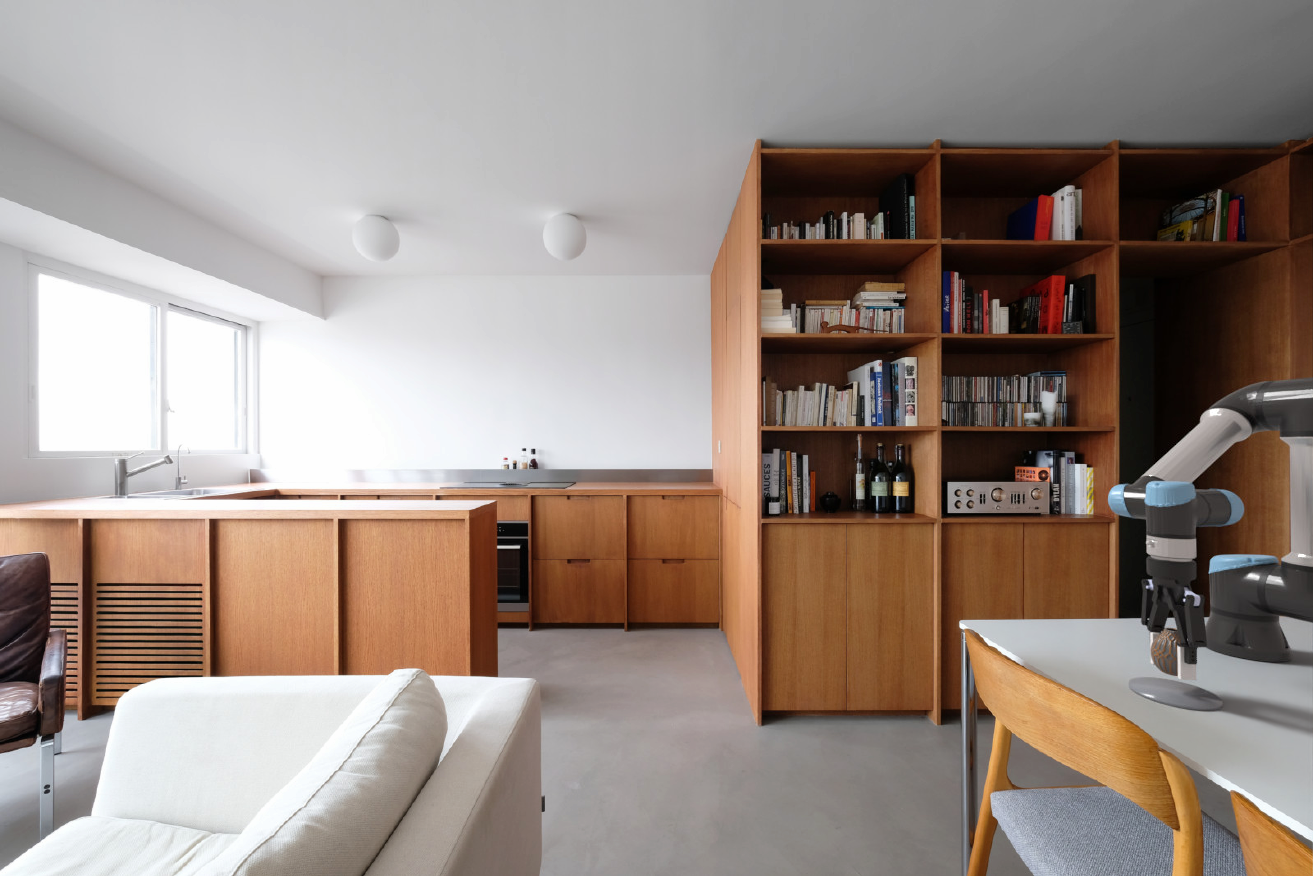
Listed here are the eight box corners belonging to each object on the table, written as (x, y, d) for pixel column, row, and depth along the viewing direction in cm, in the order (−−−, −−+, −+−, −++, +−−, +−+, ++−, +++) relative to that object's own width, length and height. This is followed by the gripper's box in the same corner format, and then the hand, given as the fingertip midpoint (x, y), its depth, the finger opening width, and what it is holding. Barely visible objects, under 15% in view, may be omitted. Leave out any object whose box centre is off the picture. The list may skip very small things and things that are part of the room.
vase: (1206, 681, 111) (1205, 636, 111) (1165, 678, 113) (1164, 634, 113) (1181, 667, 118) (1180, 624, 118) (1143, 665, 119) (1142, 623, 120)
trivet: (1185, 681, 121) (1185, 678, 121) (1243, 712, 107) (1243, 709, 107) (1113, 678, 123) (1113, 675, 123) (1160, 708, 110) (1159, 705, 110)
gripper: (1118, 548, 126) (1120, 652, 126) (1187, 567, 106) (1189, 691, 106) (1156, 549, 125) (1158, 654, 125) (1233, 568, 105) (1235, 693, 105)
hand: (1172, 671), depth 115 cm, fingers closed on vase, 7 cm apart
